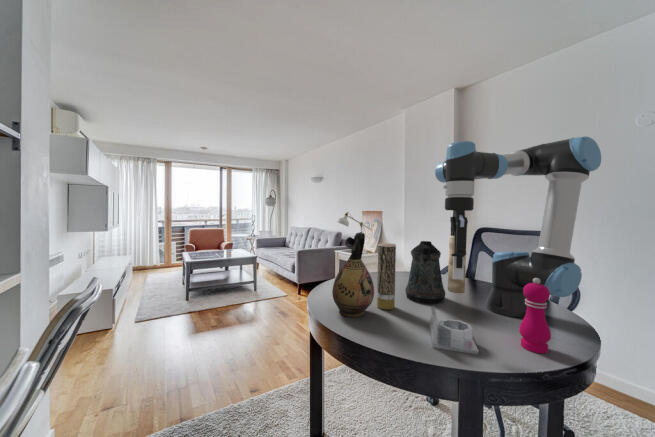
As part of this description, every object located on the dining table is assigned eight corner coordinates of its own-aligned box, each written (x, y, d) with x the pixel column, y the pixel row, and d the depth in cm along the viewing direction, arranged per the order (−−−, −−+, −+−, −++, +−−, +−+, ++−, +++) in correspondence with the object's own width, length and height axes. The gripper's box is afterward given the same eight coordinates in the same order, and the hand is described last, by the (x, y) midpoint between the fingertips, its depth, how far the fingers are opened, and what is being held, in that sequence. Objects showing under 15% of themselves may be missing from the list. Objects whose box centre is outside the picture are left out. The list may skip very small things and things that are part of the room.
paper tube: (393, 304, 114) (394, 243, 113) (395, 310, 107) (397, 245, 106) (376, 304, 115) (377, 243, 114) (377, 310, 108) (378, 245, 107)
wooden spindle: (463, 289, 84) (464, 236, 83) (466, 294, 79) (467, 237, 79) (446, 288, 85) (448, 235, 84) (448, 292, 80) (450, 236, 80)
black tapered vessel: (433, 292, 132) (434, 239, 131) (457, 306, 113) (459, 244, 112) (399, 293, 130) (400, 239, 129) (418, 307, 111) (419, 244, 110)
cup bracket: (469, 335, 87) (470, 309, 87) (478, 354, 75) (479, 325, 75) (430, 330, 90) (430, 305, 90) (432, 347, 79) (433, 319, 78)
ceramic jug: (364, 324, 94) (366, 235, 93) (324, 315, 102) (325, 232, 101) (380, 308, 109) (382, 232, 108) (345, 302, 116) (346, 230, 115)
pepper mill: (512, 342, 83) (515, 274, 82) (535, 341, 83) (538, 274, 83) (532, 355, 75) (535, 281, 75) (557, 354, 76) (560, 281, 75)
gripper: (442, 198, 91) (440, 269, 91) (449, 195, 74) (446, 283, 75) (467, 198, 88) (465, 271, 89) (480, 195, 72) (477, 286, 72)
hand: (456, 276), depth 82 cm, fingers closed on wooden spindle, 4 cm apart
